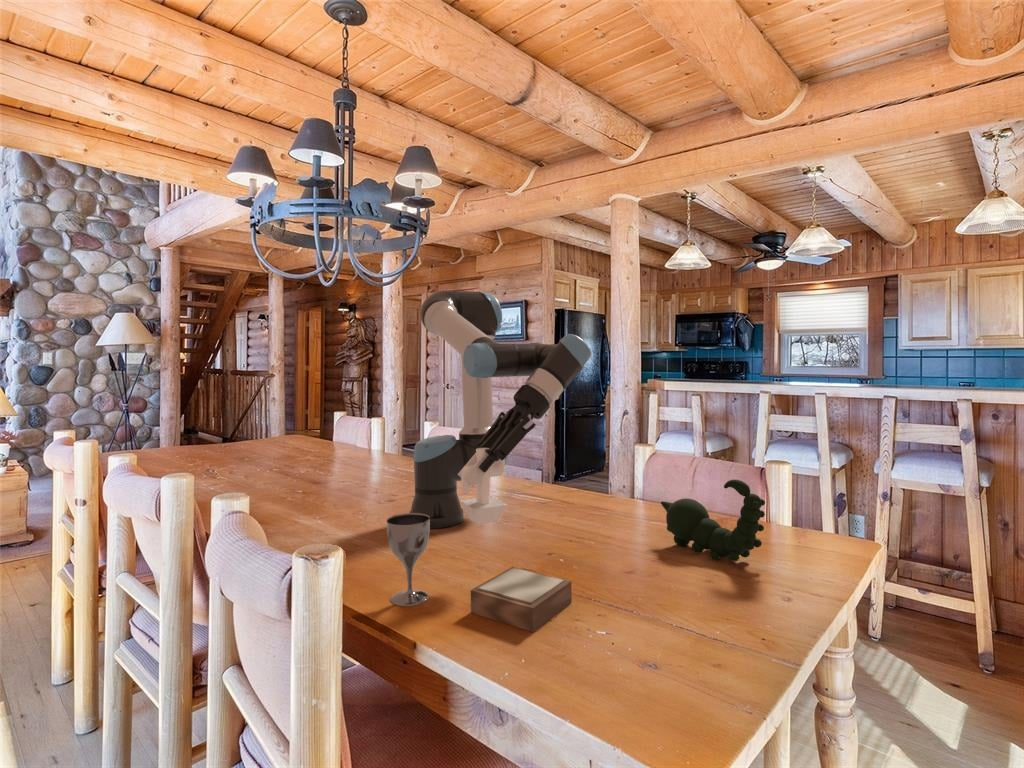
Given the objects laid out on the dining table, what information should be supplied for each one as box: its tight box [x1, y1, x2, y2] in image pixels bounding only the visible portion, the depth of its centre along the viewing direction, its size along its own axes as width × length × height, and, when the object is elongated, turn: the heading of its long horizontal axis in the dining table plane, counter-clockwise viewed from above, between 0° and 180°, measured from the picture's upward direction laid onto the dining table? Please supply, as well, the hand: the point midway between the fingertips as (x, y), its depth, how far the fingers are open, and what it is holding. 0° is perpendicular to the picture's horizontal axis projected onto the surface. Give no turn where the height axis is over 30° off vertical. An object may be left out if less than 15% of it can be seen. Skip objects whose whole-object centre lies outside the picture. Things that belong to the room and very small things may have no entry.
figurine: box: [459, 448, 508, 525], centre depth 111 cm, size 7×9×15 cm
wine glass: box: [386, 512, 431, 607], centre depth 102 cm, size 8×8×15 cm
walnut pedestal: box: [470, 566, 573, 633], centre depth 97 cm, size 13×13×4 cm
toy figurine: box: [660, 479, 766, 562], centre depth 124 cm, size 10×19×26 cm
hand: (465, 480), depth 109 cm, fingers closed on figurine, 3 cm apart
